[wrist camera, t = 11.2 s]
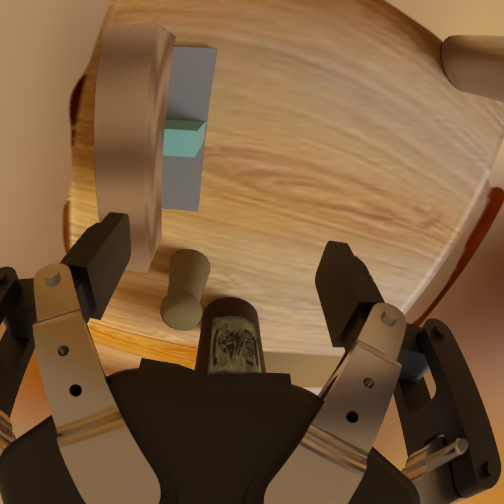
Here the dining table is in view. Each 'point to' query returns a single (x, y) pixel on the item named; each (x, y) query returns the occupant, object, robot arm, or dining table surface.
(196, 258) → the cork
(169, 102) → the balance stand
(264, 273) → the dining table surface
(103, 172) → the walnut bar
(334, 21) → the dining table surface
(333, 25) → the dining table surface
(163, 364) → the robot arm
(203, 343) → the olive oil
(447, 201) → the dining table surface
